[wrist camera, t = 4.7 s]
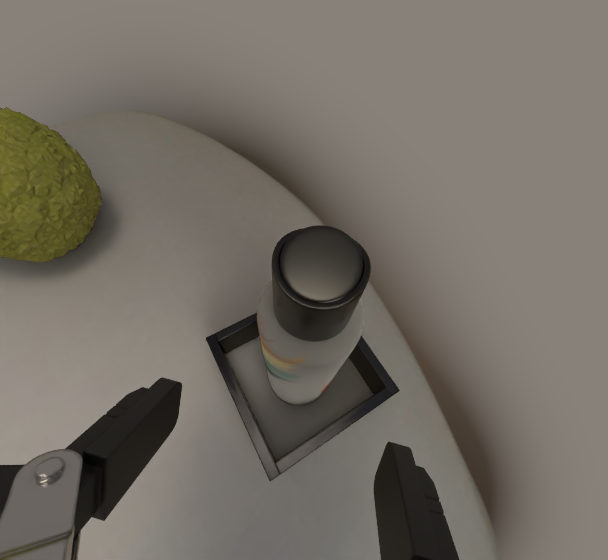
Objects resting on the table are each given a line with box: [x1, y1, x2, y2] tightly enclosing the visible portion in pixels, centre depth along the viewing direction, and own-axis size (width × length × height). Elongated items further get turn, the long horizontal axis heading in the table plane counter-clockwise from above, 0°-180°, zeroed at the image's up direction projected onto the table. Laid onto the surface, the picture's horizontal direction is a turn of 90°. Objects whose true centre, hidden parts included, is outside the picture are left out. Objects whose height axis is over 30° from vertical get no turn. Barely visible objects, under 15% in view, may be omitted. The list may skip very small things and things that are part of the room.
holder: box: [206, 313, 400, 481], centre depth 27 cm, size 12×12×4 cm
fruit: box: [0, 107, 102, 263], centre depth 29 cm, size 16×14×15 cm
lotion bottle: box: [257, 226, 371, 405], centre depth 20 cm, size 6×6×20 cm
